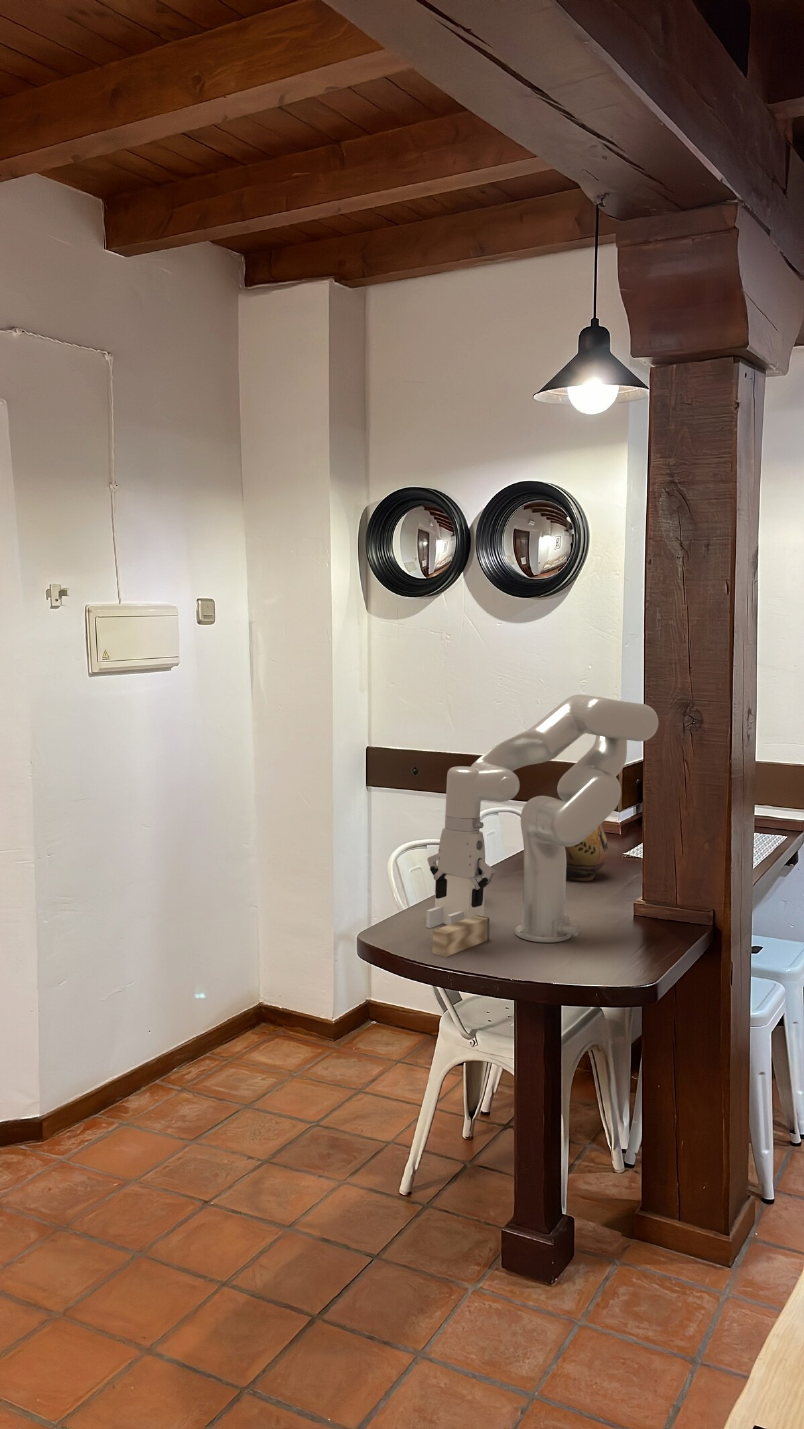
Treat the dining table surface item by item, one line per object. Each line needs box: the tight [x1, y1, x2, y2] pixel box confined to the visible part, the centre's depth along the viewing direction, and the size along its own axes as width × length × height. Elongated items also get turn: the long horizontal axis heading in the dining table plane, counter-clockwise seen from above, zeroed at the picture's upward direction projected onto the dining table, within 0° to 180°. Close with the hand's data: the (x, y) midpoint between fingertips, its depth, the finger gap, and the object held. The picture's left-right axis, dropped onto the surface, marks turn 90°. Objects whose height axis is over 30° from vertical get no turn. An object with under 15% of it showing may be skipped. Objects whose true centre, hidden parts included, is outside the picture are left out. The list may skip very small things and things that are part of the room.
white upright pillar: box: [426, 864, 486, 929], centre depth 250 cm, size 12×11×13 cm
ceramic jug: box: [565, 823, 609, 882], centre depth 297 cm, size 17×15×30 cm
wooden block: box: [432, 915, 490, 958], centre depth 235 cm, size 16×4×5 cm, turn 140°
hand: (458, 901), depth 234 cm, fingers open, 9 cm apart
